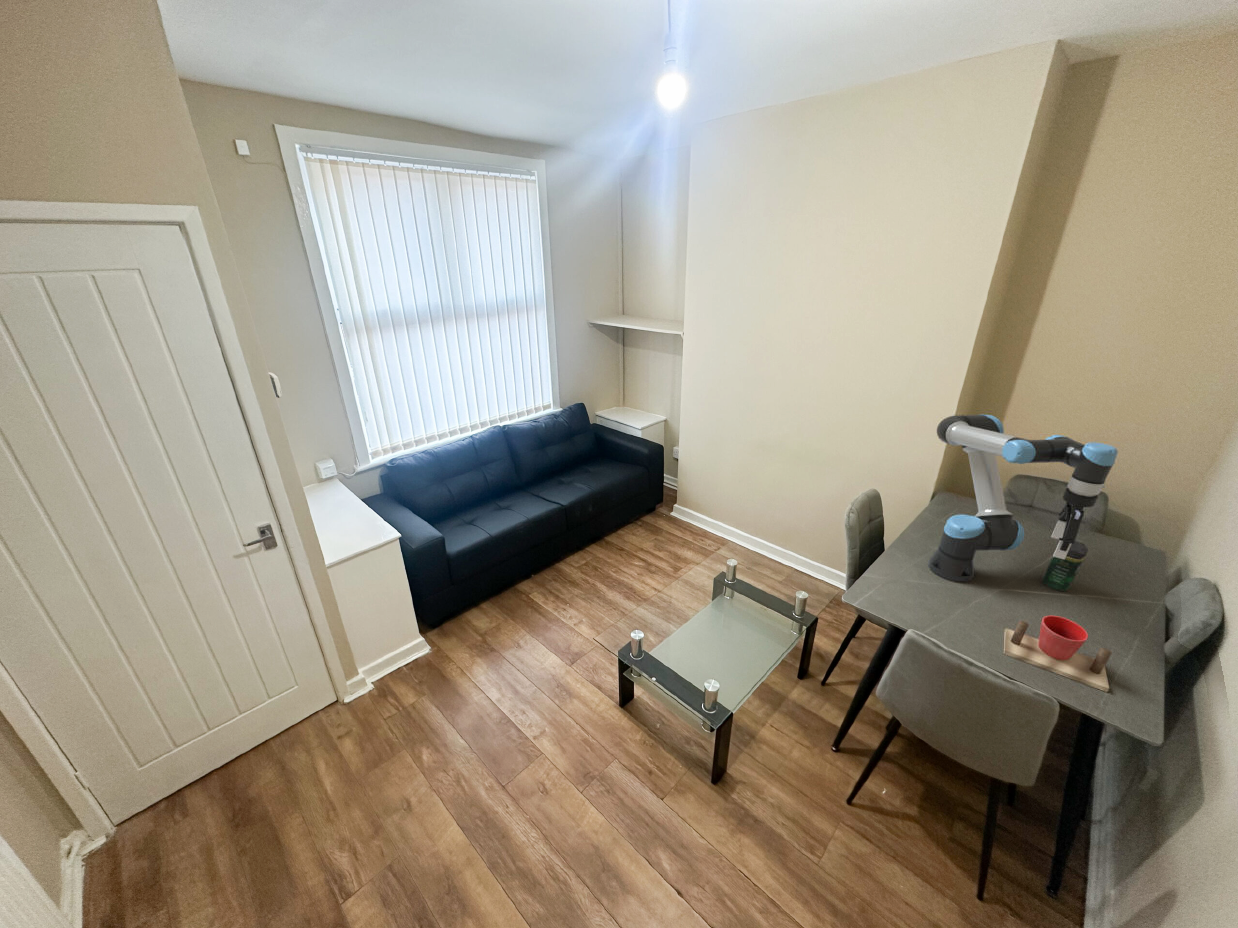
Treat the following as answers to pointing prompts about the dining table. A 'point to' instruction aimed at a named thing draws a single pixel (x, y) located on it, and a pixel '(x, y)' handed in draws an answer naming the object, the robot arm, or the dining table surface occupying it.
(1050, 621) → the flower pot
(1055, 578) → the coffee jar
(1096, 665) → the rack
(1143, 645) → the dining table surface
